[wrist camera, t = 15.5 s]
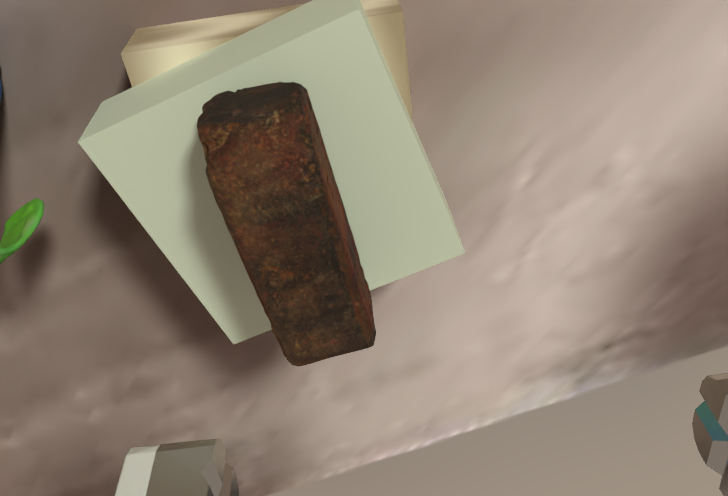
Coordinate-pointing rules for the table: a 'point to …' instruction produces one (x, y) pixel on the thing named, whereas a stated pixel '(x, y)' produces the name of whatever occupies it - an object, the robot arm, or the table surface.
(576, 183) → the table surface
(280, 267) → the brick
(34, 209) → the snack cup
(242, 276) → the upper slab
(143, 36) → the lower slab
